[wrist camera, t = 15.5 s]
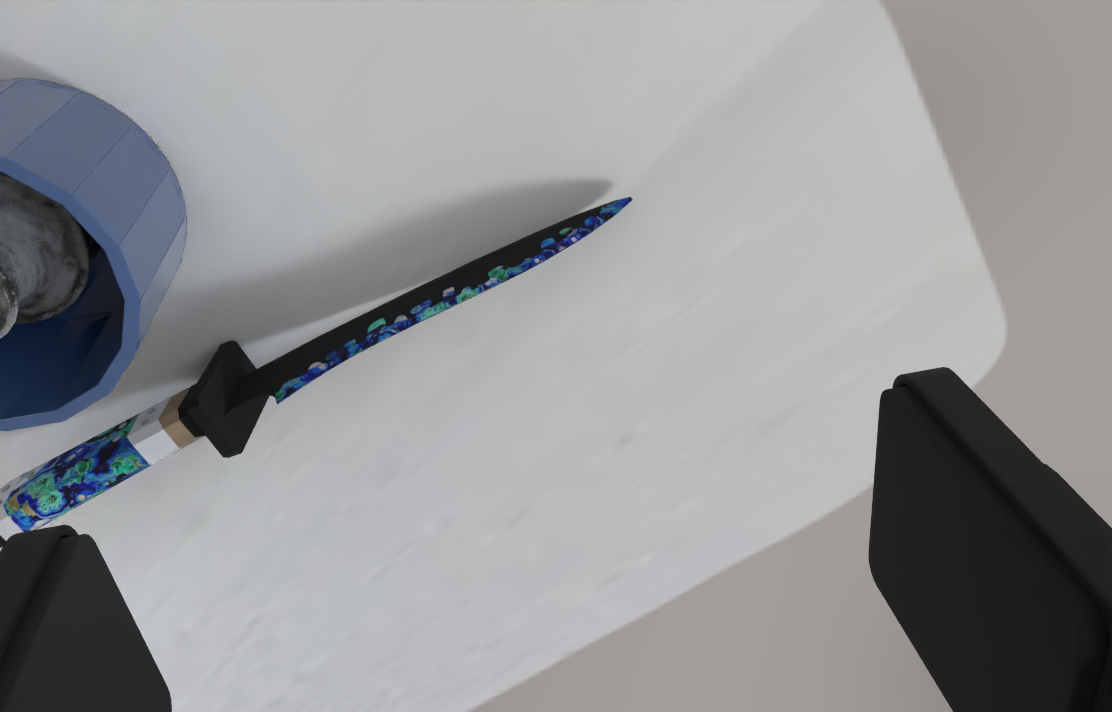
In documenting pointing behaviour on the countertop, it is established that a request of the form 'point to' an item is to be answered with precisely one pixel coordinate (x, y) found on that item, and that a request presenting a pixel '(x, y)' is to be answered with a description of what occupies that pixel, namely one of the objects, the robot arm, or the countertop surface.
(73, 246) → the salt shaker
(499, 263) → the knife
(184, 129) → the countertop surface
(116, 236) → the blue cup
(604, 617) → the countertop surface
